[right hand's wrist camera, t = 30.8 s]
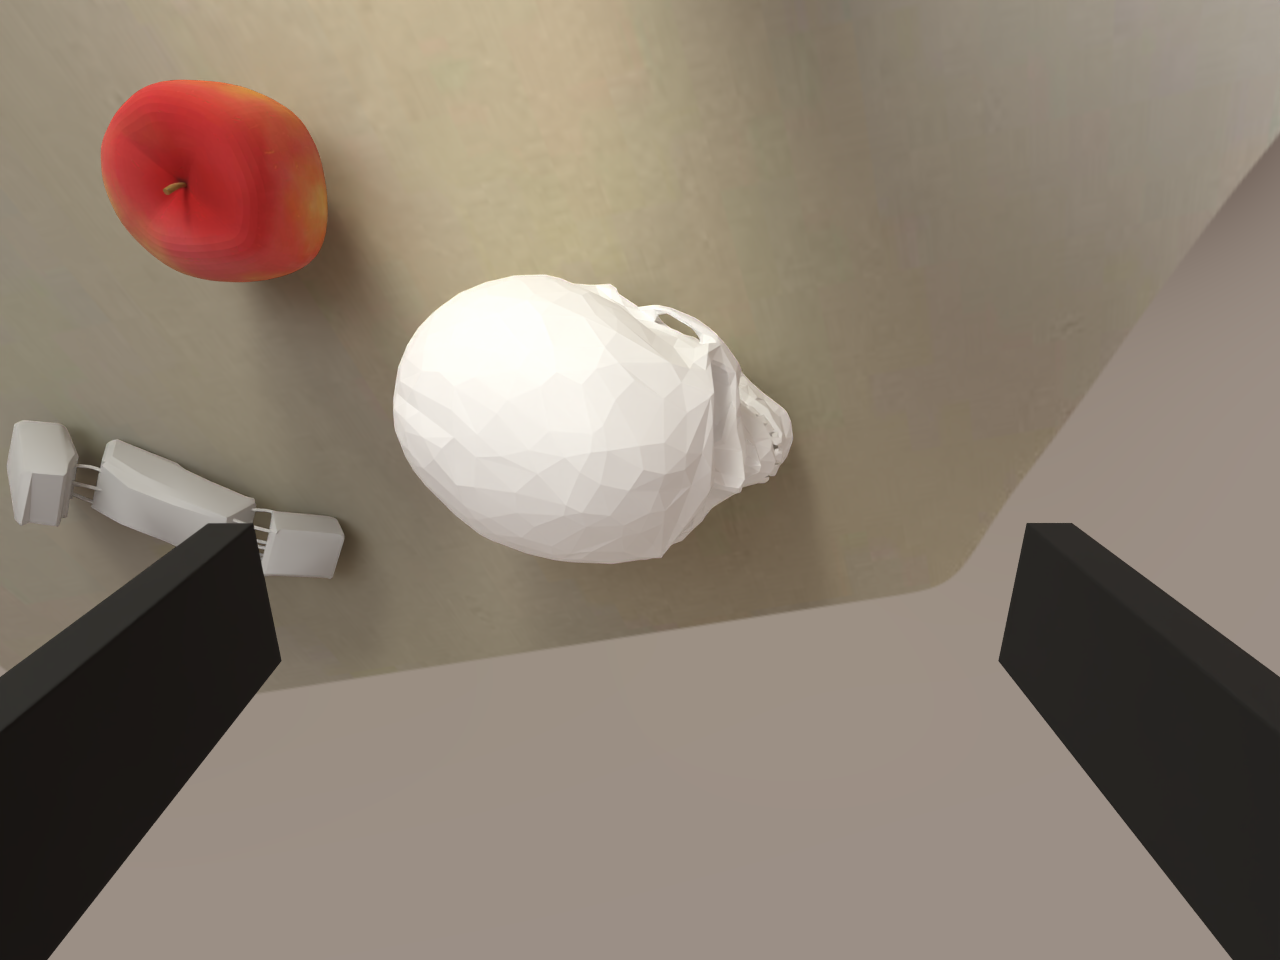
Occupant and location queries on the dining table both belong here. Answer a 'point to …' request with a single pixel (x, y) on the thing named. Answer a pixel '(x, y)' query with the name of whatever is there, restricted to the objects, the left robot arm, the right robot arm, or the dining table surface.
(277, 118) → the apple
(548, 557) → the skull
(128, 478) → the grey jointed block chain
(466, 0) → the dining table surface
